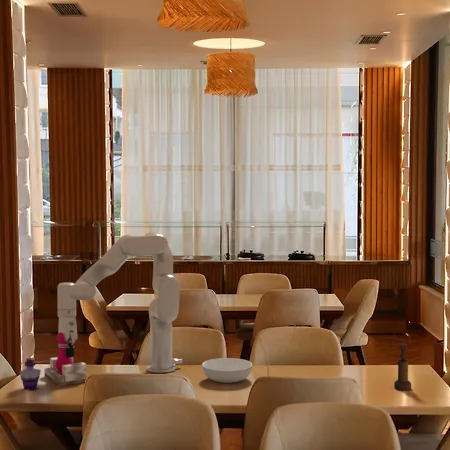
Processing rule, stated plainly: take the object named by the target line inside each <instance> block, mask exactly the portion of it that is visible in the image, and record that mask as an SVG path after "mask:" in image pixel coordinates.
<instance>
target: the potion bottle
mask: <svg viewBox="0 0 450 450" xmlns="http://www.w3.org/2000/svg"><path fill="white" fill-rule="evenodd" d="M35 366H36V361H35V359H34V358H33V357H28V358H26V361H24V367H26V369H22V370H19V376H20V380H21V381H22V382H21V383H22V385H23V390H26V391H34V390H37V389H38V384H39V379H40V377H41V369H39V368H38V369H37V368H34V367H35Z"/></svg>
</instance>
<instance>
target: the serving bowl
mask: <svg viewBox="0 0 450 450" xmlns="http://www.w3.org/2000/svg"><path fill="white" fill-rule="evenodd" d="M201 367H202V371H203V374H204V375H205V376H206V377H207V378H208V379H209V380H211V381H215V382H219V383H223V384H230V383H232V382H233V383H236V382H240V381H244V380H245V379H247V378H248V377H249V376H250V375H251V373H252V370H253V363H252V362H251V361H250V360H246V359H242V358H233V357H219V358H211V359H208V360H205V361H204V362H202V363H201ZM233 383H232V384H233Z"/></svg>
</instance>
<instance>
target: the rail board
mask: <svg viewBox="0 0 450 450" xmlns="http://www.w3.org/2000/svg"><path fill="white" fill-rule="evenodd" d="M57 358H58V356H57V357H50V358H49V367H45V368H44V377H45V378H47V380H49V381H51V382H52V383H54V384H55V385H57V386H58V387H64V386H70V384H71V385H76V384H83V382H84V383H86V382H85V380H86V378H87V363H85V362H75V363H74V357H71V358H72V361H73V364H67V365H62V375H60V374H59V373H57V371H58V369H57V368H56V361H57Z"/></svg>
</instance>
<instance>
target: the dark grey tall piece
mask: <svg viewBox="0 0 450 450" xmlns="http://www.w3.org/2000/svg"><path fill="white" fill-rule="evenodd" d="M399 349H400V352H401V353H400V359H398V361H397V379H396V380H395V381H394V383H393V386H394V387H393V388H394V389H395V390H399V391H410V390H409V389H411V390H412V382H411V381H410V380H409V360H407V359H406V358H407V354H406V351H407V350H408V345H407V344H406V343H404V342H403V343H400V344H399Z"/></svg>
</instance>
